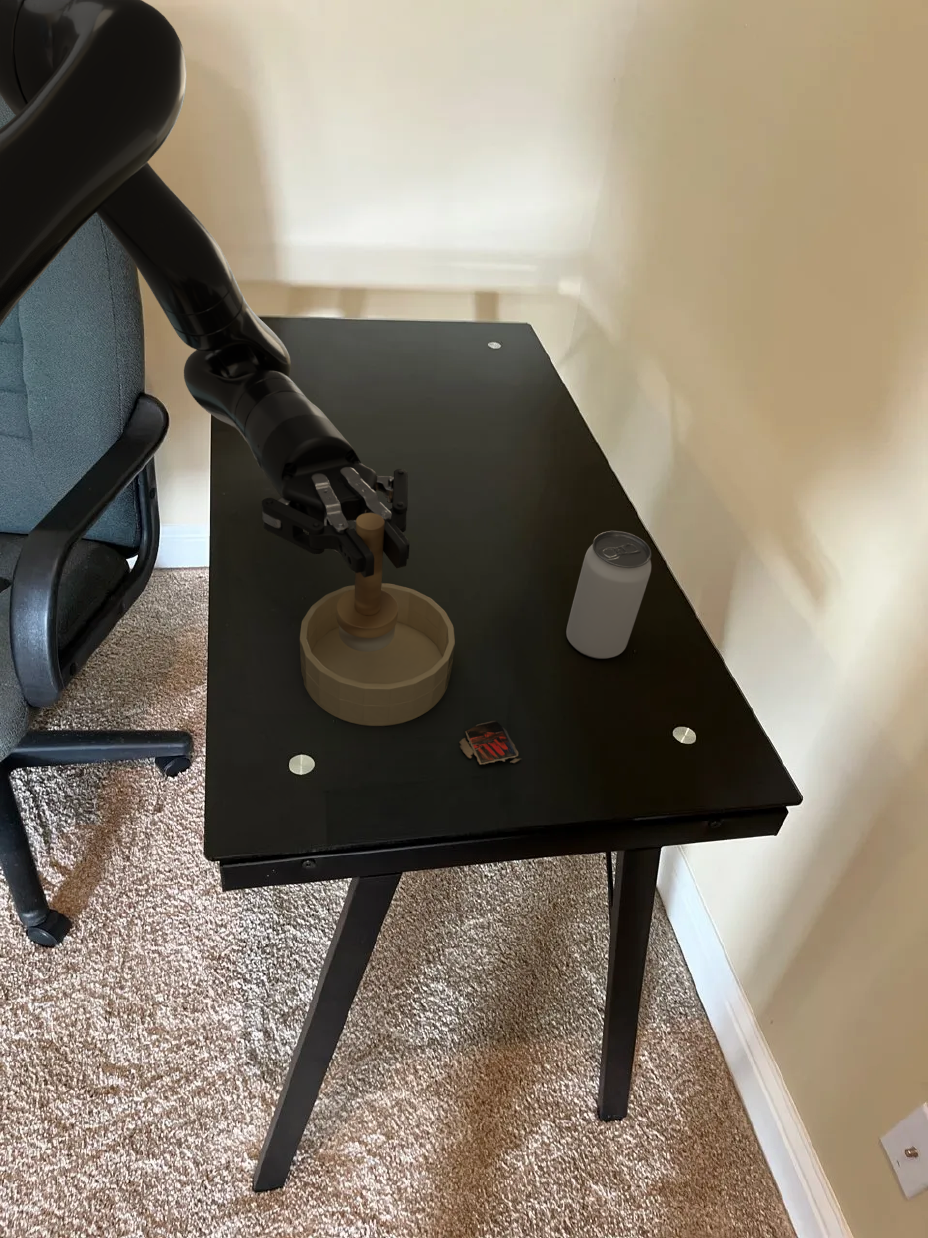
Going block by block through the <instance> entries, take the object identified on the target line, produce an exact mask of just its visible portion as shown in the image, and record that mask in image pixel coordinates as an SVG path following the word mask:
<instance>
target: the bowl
mask: <svg viewBox="0 0 928 1238" xmlns="http://www.w3.org/2000/svg"><path fill="white" fill-rule="evenodd" d="M353 589H355V584H352V585H348V586H347V585H346V586H343V587H341V588H339V589H337V590H335V591H331V592H328V593H327V594H325V595H324V596H322V597H321V598H320V599H318V600H317V601H316V602H315V603H314V604H312V606H310V608H309V609H308V610H307V612H306V614H305V616H304V617H303V619H302V621H301V623H300V633H299V654H300V656H299V657H300V673H301V676H302V681H303V685H304V688H305V690H306V692H307V693H308V695H309V696H310V698H311V699H312V700H313V702H315V704H316V705H317V706H319V707H320V708H321V709H322V710H323V711H324V712H327V713H328V714H330V715H331V716H333V717H335V718H338V719H340V720H341V721H342V720H343V721H345V722H348V723H352V724H356V725H361V726H368V727H385V726H394V725H399V724H403V723H406V722H410V721H412V720H415V719H418V717H421V716H422V715H424V714H426V713H428V712H429V711H430V710H432V709H433V708H434V707H435V706H436V705H437V704H438V703H439V702H440V701H441V700H442V698H443V697H444V695H445V693H446V691H447V689H448V686H449V682H450V679H451V676H452V669H453V661H454V653H455V645H456V640H455V627H454V625H453V623H452V621H451V619H450V617H449V615H448V613H447V612H446V610H444V609H443V608H442V607H441V606H440V605H439V604H438V603H437V602H436V601H435V600H434V599H432V598H431V597H429V596H427V595H425V594H424V593H422V592H419V591H417V590H416V589H414V588H410V587H406V586H401V585H398V584H394V583H386V582H382V587H381V590H383V591H385V592H387V593H389V594H390V595H391V596H392V597H393V598H394V599H395V600H396V602H397V604H398V619H397V623H396V625H395V631H394V637H393V639H392V641H391V642H390V643H389V644H388V645H387V646H386V647H384V648H382V649H380V650H376V651H369V652H365V651H358V650H355V649H352V648H350V647H348V646H347V645H346V644H345V643H344V642H343V641H342V640H341V638H340V635H339V624H338V622H337V603H338V600H339V599H340V598H341V596H342V595H344V594H345V593H346V592H348V591H350V590H353Z"/></svg>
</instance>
